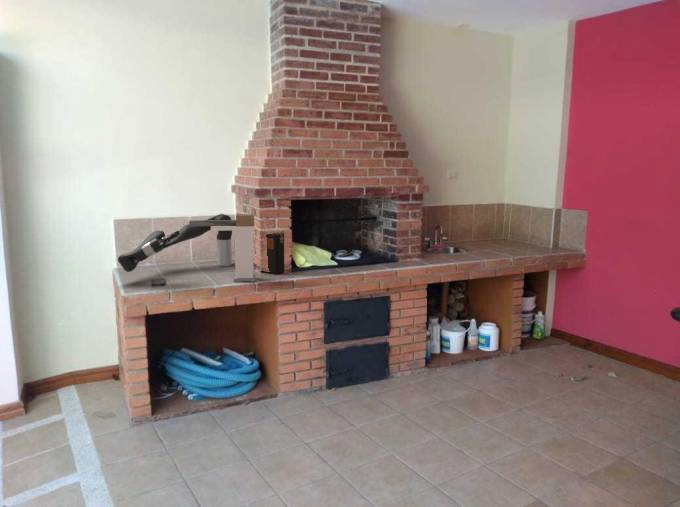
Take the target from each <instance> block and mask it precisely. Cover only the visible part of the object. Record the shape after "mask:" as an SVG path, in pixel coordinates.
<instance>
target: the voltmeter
mask: <svg viewBox="0 0 680 507" xmlns="http://www.w3.org/2000/svg"><path fill="white" fill-rule="evenodd" d="M266 237H267V256H268V268H269V271H270V272H271V273H270V274H273V273H274V275H279V273H280V274H283V273H282V272H284V273H285V233H284V232H277V233H273V234H267V235H266Z"/></svg>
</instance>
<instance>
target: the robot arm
mask: <svg viewBox="0 0 680 507" xmlns="http://www.w3.org/2000/svg"><path fill="white" fill-rule="evenodd" d="M206 220H232V218H231V216H229V215H228V214H225V213H220V214H217V215H214V216H211V217H210V218H207V219H206ZM209 231H211V226H189V223H188V224H185V225H183V226H182V227H181V228H180V229H179V230H176V231H175V232H173V233H170V234H167V235H166V233H165V232H164V231H163V230H160V229H159V230H155V231H152V232H151V233H150V234H148V236H147V237H146V238H145V239H144V240H143V241H142V242H141V243H140V245H138V246H137V247H136V248H134V249H133V250H132V251H129V252H125V253H122V254H120V255H119V256H118V258H117V262H118V263H119V265H120V266H121V267H122V268H123V270H124V272H127V273H130V272H133V271H134V270H136V268H137V266H138V265H139V263H140V262H143V261H145V260H147V259H148V258H150V257H153V256H155V255H156V254H158V253H159V252H161V251H163V250H164V249H167V248H169V247H172V246H175V245H176V244H179V243H183V242H185V241H188V240H192V239H196V238H198V237H201V236H203V235H204V234H206V233H208V232H209ZM232 235H233V230H225V231H217V234H216V252H217V253H216V254H217V255H216V256H217V259H216V260H217V266H218V267H230V266H232V265H233V255H232V254H233V253H232V248H233V246H232Z"/></svg>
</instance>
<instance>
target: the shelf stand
mask: <svg viewBox="0 0 680 507" xmlns="http://www.w3.org/2000/svg"><path fill="white" fill-rule="evenodd" d="M225 230H232V231H233V232H234V261H235V262H234V266H235V268H234V269H235V271H234V272H235V274H234V277H233V282H234V283H243V282H242V281H255V282H256V274H255V273H254V237H253V235H254V234H253V232H254V231H255V225H254V226H211V230H210V231H212V232H213V231H214V232H215V231H216V232H218V231H225Z"/></svg>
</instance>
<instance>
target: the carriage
mask: <svg viewBox="0 0 680 507" xmlns="http://www.w3.org/2000/svg"><path fill="white" fill-rule="evenodd" d="M188 224H189V226H254V227H255V214H253V213H251V214H250V213H247V214H245V213H244V214H242V213H241V214H240V213H239V214H236V215H235V219H231V220H207V219H203V220H202V219H200V220H199V219H198V220H197V219H196V220H195V219H193V220H191V219H189V221H188Z"/></svg>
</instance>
